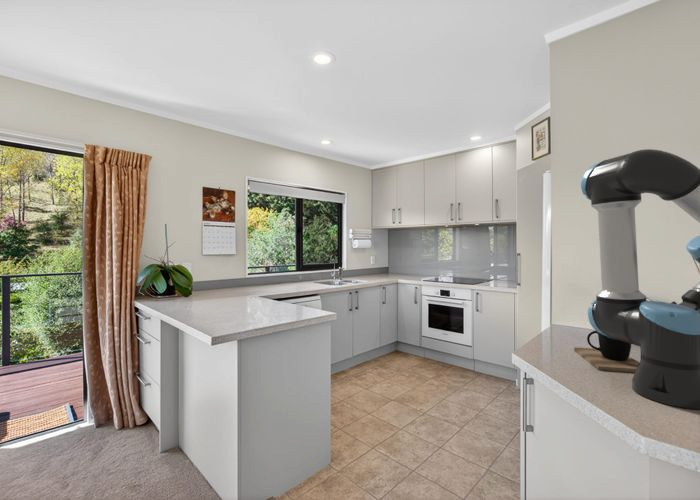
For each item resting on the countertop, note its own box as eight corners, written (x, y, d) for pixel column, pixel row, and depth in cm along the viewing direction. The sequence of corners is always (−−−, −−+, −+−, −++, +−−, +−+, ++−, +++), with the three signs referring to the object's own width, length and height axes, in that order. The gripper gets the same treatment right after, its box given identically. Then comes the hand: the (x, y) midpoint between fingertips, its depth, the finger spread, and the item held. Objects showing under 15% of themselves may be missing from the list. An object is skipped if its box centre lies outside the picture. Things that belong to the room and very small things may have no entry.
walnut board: (652, 374, 100) (652, 370, 100) (597, 369, 104) (597, 366, 104) (618, 353, 119) (618, 350, 119) (574, 350, 123) (574, 347, 123)
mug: (629, 356, 113) (629, 326, 113) (635, 364, 105) (634, 332, 105) (586, 350, 119) (585, 322, 119) (588, 358, 111) (588, 328, 111)
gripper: (750, 313, 92) (683, 363, 96) (686, 299, 116) (635, 339, 120) (725, 294, 93) (661, 343, 97) (668, 284, 117) (618, 324, 121)
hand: (646, 341), depth 109 cm, fingers open, 13 cm apart
